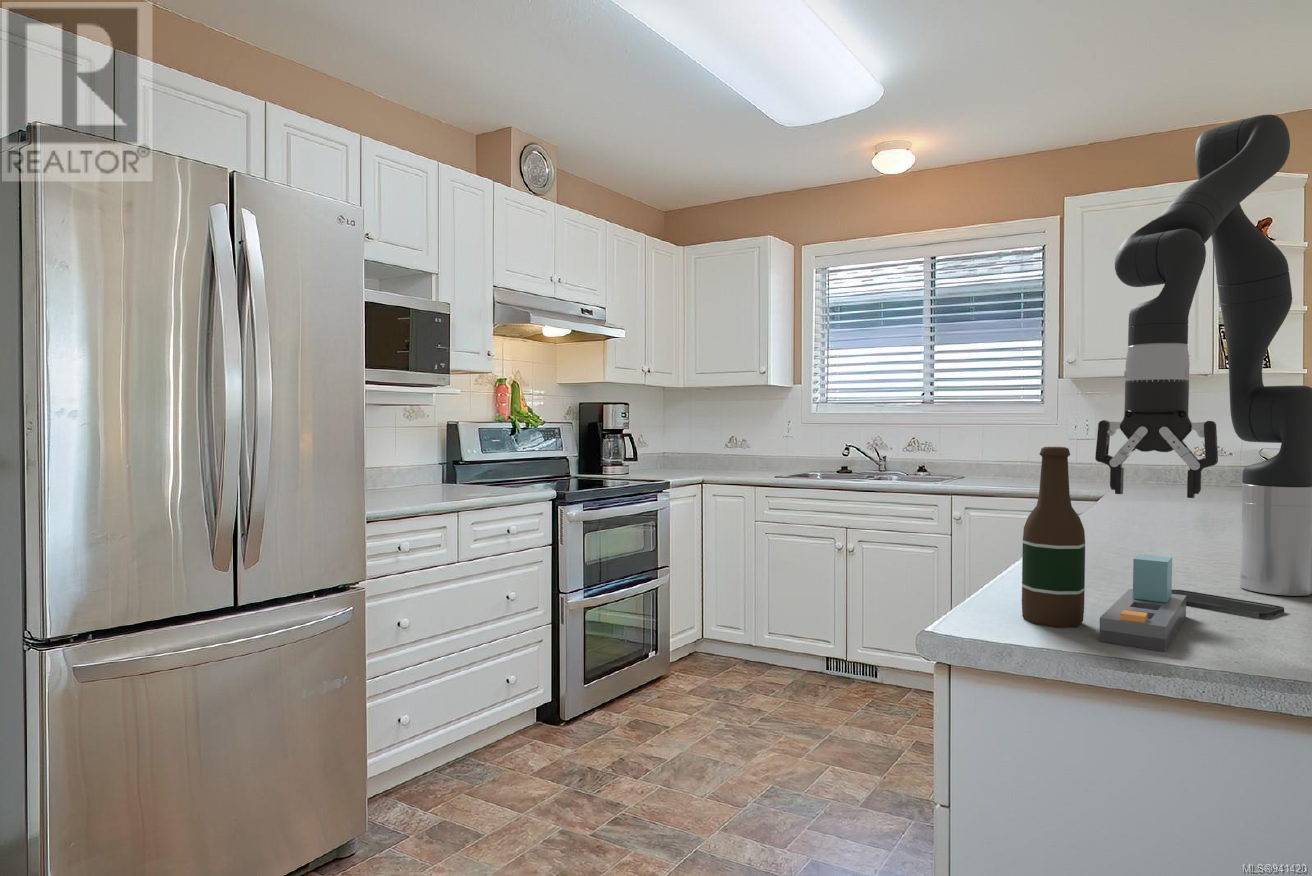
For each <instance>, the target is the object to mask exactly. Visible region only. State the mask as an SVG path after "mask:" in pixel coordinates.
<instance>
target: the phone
mask: <svg viewBox="0 0 1312 876" xmlns="http://www.w3.org/2000/svg"><path fill="white" fill-rule="evenodd" d="M1172 594H1178V595H1186V607H1192V608H1198V609H1202V610H1209V611H1213V612H1214V611H1215V612H1220V613H1225V614H1229V615H1230V614H1231V615H1237V616H1242V617H1246V618H1252V619H1257V620H1259V619H1260V620H1265V619H1266V620H1267V619H1269V618H1270V619H1271V618H1273V617H1276V616H1280V615H1281V616H1282V615H1284V614H1285V607H1284V606H1280V605H1275V604H1269V603H1265V602H1264V603H1263V602H1262V603H1261V602H1256V601H1250V600H1244V599H1238V598H1231V597H1226V596H1220V595H1214V594H1208V593H1202V592H1196V591H1190V590H1184V589H1183V590H1182V589H1176V588H1175V589H1172Z"/></svg>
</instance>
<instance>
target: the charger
mask: <svg viewBox="0 0 1312 876" xmlns="http://www.w3.org/2000/svg"><path fill="white" fill-rule="evenodd" d="M1132 559H1133V561H1132V563H1133V564H1132V565H1133V566H1132V568H1133V569H1132V589H1133V599H1141V600H1149V601H1157V602H1165V603H1167V602H1168V600H1169V599H1170V598H1171V596H1172V590H1173V589H1172V588H1173V557H1172V556H1164V555H1154V554H1152V555H1151V554H1142V553H1138V554H1137V555H1136V556H1135V557H1134V558H1132Z"/></svg>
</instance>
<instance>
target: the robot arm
mask: <svg viewBox="0 0 1312 876" xmlns="http://www.w3.org/2000/svg"><path fill="white" fill-rule="evenodd" d="M1290 139H1291V138H1290V132H1289V129H1288V126H1287V125H1286V123H1285V121H1284V120H1283V119H1282V118H1281V117H1279V116H1278V115H1275V114H1262V115H1261V114H1260V115H1256V116H1255V115H1254V116H1250V117H1247V118H1245V119H1241V120H1239V121H1237V120H1236V121H1233V122H1232V123H1227V124H1225V125H1224V124H1223V125H1220V126H1218V127H1214V128H1211V129H1208V130H1206V131H1204V132H1202V133H1201V134H1200V135H1199V136H1198V138H1197V140H1196V143H1195V148H1194V149H1195V152H1194V159H1195V169H1196V175H1197V179H1198V180H1196V181H1194V182H1193V183H1191V184H1190V185H1189V186H1187V187H1186V188H1184V189H1183V190H1182V191H1180V193H1178V195H1176V197H1175V198H1174V199H1172V201H1171V202H1170V204H1169V205H1168V206H1167V207H1166V208H1165V209H1164V211H1163V212H1162V213H1161V214H1160V215H1159V216H1157V217H1156V218H1155V219H1152V220H1151V221H1149V222H1147V223H1146V224H1144V225H1143V226H1142V227H1140V228H1138V229H1137V230H1136V231H1134V232H1132V234H1131V235H1129V236H1128V237H1127V238H1126V239H1125V240H1124V241H1123V242H1122V244H1120V246H1119V248H1118V250H1117V252H1116V256H1115V258H1114V271H1115V274H1116V276H1117V278H1118V279H1119V280H1120V282H1122V283H1123V285H1126V286H1129V287H1133V288H1143V287H1150V286H1152V287H1153V286H1160V285H1163V288H1162V289H1161V291H1160V293H1159V294H1158V296H1156V297H1154V298H1152V299H1150V300H1148V301H1145V302H1141V303H1139V304H1137V305H1135V306H1133V307H1132V308H1131V309H1130V311H1129V313H1128V327H1127V328H1128V330H1127V331H1128V332H1127V335H1128V336H1127V346H1128V347H1127V353H1126V359H1125V370H1124V373H1123V374H1124V409H1123V410H1124V414H1123V419H1122V420H1121V421H1110V420H1106V419H1104V420H1100V421H1099V422H1098V423H1097V435H1096V446H1095V447H1096V448H1095V461H1096V462H1098V463H1101V464H1105V465H1107V466H1108V467H1109V469H1110V470H1109V487H1110V489H1111V490H1114V494H1115V495H1123V494H1124V474H1125V473H1124V471H1125V468H1124V467H1123V463H1124V462H1125V461H1126V460H1127V459H1128V458H1129V457H1130V456H1132V454H1134V452H1135V451H1136V450H1137V451H1140V452H1144V453H1145V452H1147V453H1149V452H1152V451H1155V452H1158V453H1169V452H1171V451H1174V452H1175V453H1176V454H1177V455H1178V456H1179V458H1181V459H1182V461H1184V463H1185V464H1186V465H1187V467H1188V468H1189V469H1188V470H1187V481H1186V482H1187V484H1186V498H1188V499H1195V496H1196V495H1199V494H1200V493H1201V490H1202V471H1203V470H1204V469H1205V468H1209V467H1213V466H1215V465H1217V464H1218V462H1219V451H1218V435H1217V434H1218V433H1217V432H1218V431H1217V423H1216V422H1215V421H1213V420H1206V421H1205V422H1202V421H1201V422H1192V421H1191V419H1190V417H1189V406H1190V405H1189V403H1190V401H1189V396H1190V355H1189V346H1188V343H1189V316H1190V312H1191V311H1190V310H1191V307H1192V304H1193V300H1194V297H1195V295H1196V294H1195V293H1196V291H1197V287H1198V284H1199V282H1200V279H1201V276H1202V274H1203V271H1204V267H1205V264H1206V257H1207V250H1206V243H1207V241H1208V240H1209V239H1210V238H1211V243H1212V248H1213V256H1214V257H1213V258H1214V264H1215V273H1216V274H1215V275H1216V284H1217V291H1218V298H1219V304H1220V305H1219V306H1220V311H1221V314H1222V321H1223V327H1224V335H1225V342H1226V351H1227V361H1228V389H1229V390H1228V391H1229V406H1230V407H1229V409H1230V419H1231V423H1232V427H1233V429H1234V432H1235V434H1236V436H1237V437H1238V438H1239V439H1240V440H1243V441H1244V442H1247V443H1248V442H1249V443H1268V444H1269V443H1270V444H1272V443H1275V444H1280V448H1279V451H1278V453H1277V454H1275V455H1274V456H1273V457H1270V458H1269V459H1266V460H1264V461H1261V462H1255V463H1252V464H1248V465H1246V466H1245V467H1244V468H1243V470H1242V477H1241V478H1242V479H1241V480H1242V481H1241V482H1242V484H1241V485H1242V486H1241V487H1242V488H1241V490H1242V491H1241V534H1240V535H1241V537H1240V572H1239V573H1240V575H1239V579H1240V580H1239V581H1240V582H1239V586H1240V588H1242V589H1244V590H1246V591H1251V592H1256V593H1263V594H1266V595H1267V594H1268V595H1278V596H1290V597H1291V596H1293V597H1294V596H1295V597H1301V596H1302V597H1303V596H1310V595H1312V387H1310V386H1308V385H1269V386H1267V385H1266V386H1265V385H1264V381H1263V380H1264V379H1263V366H1264V365H1263V364H1264V359H1265V355H1266V353H1267V351H1268V349H1269V346H1271V345H1270V344H1271V343H1272V341H1273V339H1274V338H1275V336H1276V335H1277V333H1278V332H1279V330H1280V329H1281V326H1283V323H1284V322H1285V319H1286V318H1287V316H1288V315H1289V313H1290V312H1289V311H1290V310H1291V308H1292V303H1293V293H1292V292H1293V290H1292V284H1291V277H1290V276H1291V275H1290V268H1289V263H1288V260H1287V258H1286V256H1285V255H1284V253H1283V252H1282V250H1281V249H1280V248H1278V246H1277V245H1276V244H1275V243H1274V242H1273V241H1272V240H1271V239H1270V238H1268V237H1267V236H1266V235H1265V234H1264V233H1263V232H1262V231H1261V230H1260V229H1259V228H1258V227H1257V226H1256V225H1255V224H1254V223H1253V222H1252V221H1251V220H1250V219H1249V217H1248V216H1247V215H1246V213H1245V212H1244V210H1243V208H1242V206H1241V205H1242V204H1241V203H1242V202H1243V201H1244V200H1245V199H1246V198H1248V197H1249V196H1250V195H1251V194H1252V193H1253V192H1255V191H1256V190H1257V189H1258V188H1260V187H1261V186H1262V185H1264V183H1266V182H1267V181H1269V179H1271V178H1272V177H1273V176H1275V175H1276V174H1277V173H1278V172H1279V171H1281V169H1282V168H1283V167H1284V166H1285V163H1286V161H1287V160H1288V158H1289V154H1290V150H1291V140H1290ZM1118 430H1120V431H1121V432H1122V434H1123V435H1124V436H1125V437H1126V439H1127V441H1126V442H1125V443H1124V444H1123V445H1122V446H1121V447H1120V448H1119V450H1118V451H1117V452H1116V453H1115V454H1114V456H1113V455H1109V449H1110V440H1111V439H1110V438H1111V437H1113V436H1114V435H1116V433H1117V431H1118ZM1193 430H1194V431H1195V432H1196V433H1197V436H1198V437H1199V438H1202V439H1203V438H1204V455H1205V456H1204V457H1203V458H1200V459H1198V457H1197V455H1195V454H1194V453H1193V451H1192V450H1191V448H1189V445H1188V446H1187V444H1186V443H1185V442H1184V440H1185V439H1186V438H1187V436H1188V435H1189V434H1191V432H1192V431H1193Z"/></svg>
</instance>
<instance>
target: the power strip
mask: <svg viewBox="0 0 1312 876" xmlns="http://www.w3.org/2000/svg"><path fill="white" fill-rule="evenodd" d="M1186 617H1187V606H1186V595H1178V594H1172V596H1171V598H1170V599H1169V600H1168V602H1167V603H1165V602H1157V601H1149V600H1141V599H1133V588H1128V590H1127V591H1125V593H1124V594H1122V596H1121V597H1119V598H1117V600H1116V601H1115V602H1114V603H1113V604H1112V605H1111V606H1110V607H1109V608H1108V609H1107V610H1105V612H1103V614H1102V615H1100V617H1099V629H1098V630H1099V635H1098V637H1099V638H1098V641H1099V642H1100V643H1101V642H1102V643H1108V644H1115V645H1121V646H1127V647H1132V648H1133V647H1134V648H1140V649H1146V650H1152V651H1160V652H1166V651H1167V649H1168V647H1169V645H1170V644H1171V643H1172V641H1173V640H1174V638H1175V636H1176V634H1177V633H1178V631H1179V629H1180V627H1181V626H1182V624H1183V622H1184V620H1185V619H1186Z"/></svg>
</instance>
